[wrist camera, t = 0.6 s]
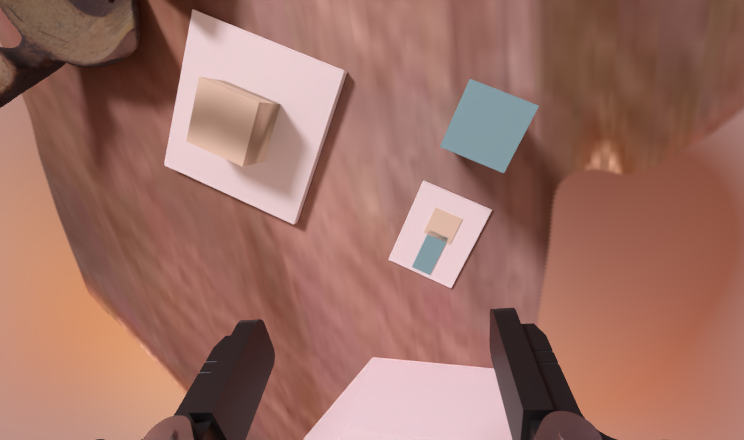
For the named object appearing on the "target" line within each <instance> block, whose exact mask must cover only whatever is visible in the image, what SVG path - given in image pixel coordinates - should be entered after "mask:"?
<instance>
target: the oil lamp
mask: <svg viewBox="0 0 744 440" xmlns="http://www.w3.org/2000/svg"><path fill="white" fill-rule="evenodd" d="M0 8H1V9H2V11H3V12H4V13H5V15H6V16H7V18H8V19H9V20H10V21H11V23H12V24H13V25H14V26H15V27H16V28H17V30H18V31H19V33H20V34H21V36H22V39H21V43H20V44H19V46H17V47H15V48H3V47H0V108H1V107H3V106H4V105H5V104H7V103H9V102H10V101H11V100H13V99H14V98H15V97H17V96H18V95H20V94H21V93H23V92H24V91H26V90H27V89H29V88H31V87H32V86H34V85H36V84H37V83H39V82H40V81H42V80H43V79H45V78H46V77H48V76H49V75H51V74H52V73H54V72H55V71H57V70H58V69H60V68H61V67H62V66H63V65H64V64H65V63H69V64H71V65H75V66H79V67H89V68H91V67H103V66H107V65H111V64H114V63H117V62H119V61H121V60H123V59H125V58H127V57H128V56H129V55H131V54H132V53H133V52H135V50H136V49H137V47H138V44H139V37H140V35H139V34H140V31H139V10H138V5H137V0H115V1H114V2H113V3H112V0H0Z"/></svg>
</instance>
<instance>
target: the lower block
mask: <svg viewBox="0 0 744 440" xmlns="http://www.w3.org/2000/svg"><path fill="white" fill-rule="evenodd" d="M279 108H280V104H279V103H277V102H274V101H272V100H270V99H267V98H265V97H263V96H260V95H258V94H256V93H253V92H251V91H248V90H246V89H244V88H241V87H239V86H237V85H234V84H232V83H230V82H227V81H222V80H216V79H211V78H205V77H199V80H198V85H197V90H196V95H195V100H194V105H193V110H192V115H191V120H190V125H189V130H188V135H187V140H186V142H189V143H191V144H193V145H195V146H198V147H200V148H202V149H204V150H207V151H209V152H211V153H213V154H215V155H218V156H220V157H222V158H224V159H227V160H229V161H231V162H233V163H235V164H238V165H240V166H242V167H243V166H248V165H252V164H257V163H261V162H264V161H265V158H266V154H267V151H268V147H269V143H270V140H271V136H272V133H273V129H274V125H275V122H276V118H277V115H278V111H279Z"/></svg>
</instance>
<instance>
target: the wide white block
mask: <svg viewBox="0 0 744 440" xmlns="http://www.w3.org/2000/svg"><path fill="white" fill-rule="evenodd" d="M304 440H512V436H511V432H510V428H509V425H508V421H507V417H506V413H505V409H504V405H503V401H502V397H501V393H500V390H499V386H498V382H497V378H496V374H495V370H494V369H493V368H482V367H472V366H461V365H450V364H440V363H429V362H419V361H408V360H397V359H387V358H376V357H373V358H372V359H371V360H370V361H369V362H368V363H367V365H366V366H365V367H364V368H363V369H362V371H361V372H360V373H359V374H358V375H357V376H356V378H355V379H354V380H353V381H352V382H351V383H350V385H349V386H348V387H347V388H346V389H345V391H344V392H343V393H342V394H341V395H340V396H339V398H338V399H337V400H336V401H335V402H334V404H333V405H332V406H331V407H330V408H329V409H328V411H327V412H326V413H325V414H324V415H323V416H322V418H321V419H320V420H319V421H318V422H317V424H316V425H315V426H314V427H313V428H312V429H311V431H310V432H309V433H308V434H307V435H306V437H305V438H304Z"/></svg>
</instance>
